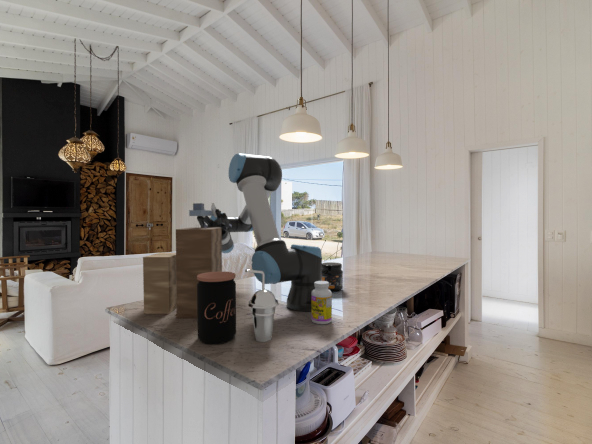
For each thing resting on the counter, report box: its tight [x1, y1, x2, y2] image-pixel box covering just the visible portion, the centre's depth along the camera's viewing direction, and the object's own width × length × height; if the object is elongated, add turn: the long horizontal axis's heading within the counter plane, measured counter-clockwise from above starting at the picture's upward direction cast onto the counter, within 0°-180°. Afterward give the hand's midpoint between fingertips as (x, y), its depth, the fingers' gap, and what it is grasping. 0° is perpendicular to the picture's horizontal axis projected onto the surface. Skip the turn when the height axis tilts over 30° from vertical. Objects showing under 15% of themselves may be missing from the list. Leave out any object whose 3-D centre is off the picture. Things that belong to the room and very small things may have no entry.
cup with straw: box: [244, 269, 279, 343], centre depth 91 cm, size 8×9×20 cm
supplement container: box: [322, 261, 344, 293], centre depth 149 cm, size 10×10×12 cm
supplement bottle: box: [310, 281, 333, 325], centre depth 105 cm, size 7×7×13 cm
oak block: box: [142, 252, 177, 315], centre depth 120 cm, size 14×9×20 cm, turn 179°
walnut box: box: [175, 227, 223, 319], centre depth 116 cm, size 14×12×30 cm
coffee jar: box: [196, 271, 237, 345], centre depth 91 cm, size 11×11×18 cm
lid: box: [188, 202, 214, 217], centre depth 120 cm, size 20×4×4 cm, turn 179°
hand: (206, 206), depth 124 cm, fingers closed on lid, 4 cm apart
